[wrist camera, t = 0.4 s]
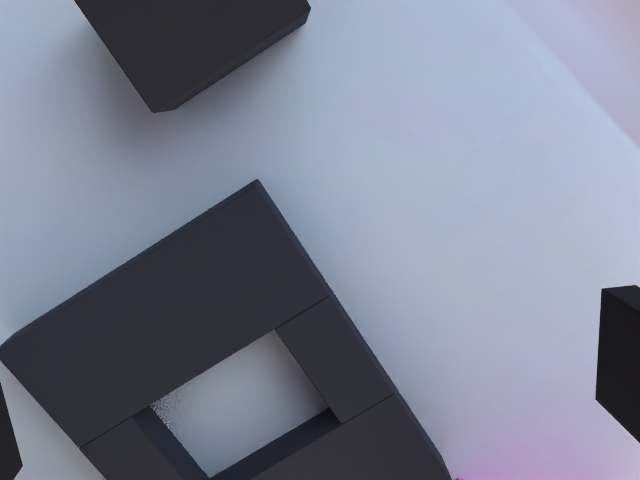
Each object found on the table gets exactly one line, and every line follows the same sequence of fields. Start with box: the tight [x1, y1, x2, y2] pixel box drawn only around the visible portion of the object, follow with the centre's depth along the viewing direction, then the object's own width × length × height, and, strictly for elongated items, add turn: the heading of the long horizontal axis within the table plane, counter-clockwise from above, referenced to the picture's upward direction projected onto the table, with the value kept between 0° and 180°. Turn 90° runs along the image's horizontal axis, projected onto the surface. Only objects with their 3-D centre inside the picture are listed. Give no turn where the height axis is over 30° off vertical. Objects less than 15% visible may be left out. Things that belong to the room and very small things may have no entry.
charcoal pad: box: [0, 179, 452, 480], centre depth 27 cm, size 18×14×2 cm
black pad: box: [74, 0, 311, 113], centre depth 21 cm, size 5×7×4 cm
